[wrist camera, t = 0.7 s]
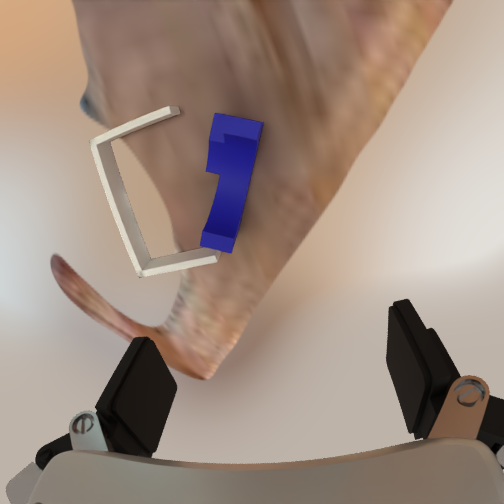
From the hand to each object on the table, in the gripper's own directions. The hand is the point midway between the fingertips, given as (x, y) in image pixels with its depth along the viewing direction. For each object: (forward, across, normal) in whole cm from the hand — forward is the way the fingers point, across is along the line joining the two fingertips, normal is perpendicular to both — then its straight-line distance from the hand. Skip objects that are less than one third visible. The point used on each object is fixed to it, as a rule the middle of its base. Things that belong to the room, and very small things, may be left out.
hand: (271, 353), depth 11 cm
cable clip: (+23, +4, -4) cm, 24 cm away
